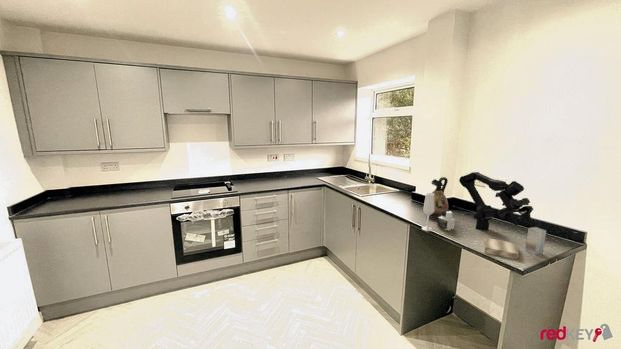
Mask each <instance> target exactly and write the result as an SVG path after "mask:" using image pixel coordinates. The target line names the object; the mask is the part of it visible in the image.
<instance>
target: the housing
mask: <svg viewBox="0 0 621 349" xmlns="http://www.w3.org/2000/svg"><path fill="white" fill-rule="evenodd" d="M546 237H547V230H546V229H543V228H540V227H537V226H534V227H533V226H532V227H528V231H527V236H526V243H525V248H524V251H525V252H527V253H529V254H532V255H534V256H537V255H543V253H544V247H545V246H544V245H545V241H546Z"/></svg>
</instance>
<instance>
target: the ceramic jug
mask: <svg viewBox="0 0 621 349" xmlns="http://www.w3.org/2000/svg"><path fill="white" fill-rule="evenodd" d="M430 183H431V185H432V186H435V187H436V188H435V189H434V190H433V191H432V192H431V193H433V194H434V213H432V214H431V215H429V217H430V216H432V217H431V218H433V217H436V218H435V219H438V217H442V211H443V210H449V201H448V198H447V196H446V195H445V189H446V187H447V184H448V178H447V177H440V178H439V179H438V180H437V179H433V180H432V181H431V182H430Z"/></svg>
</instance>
